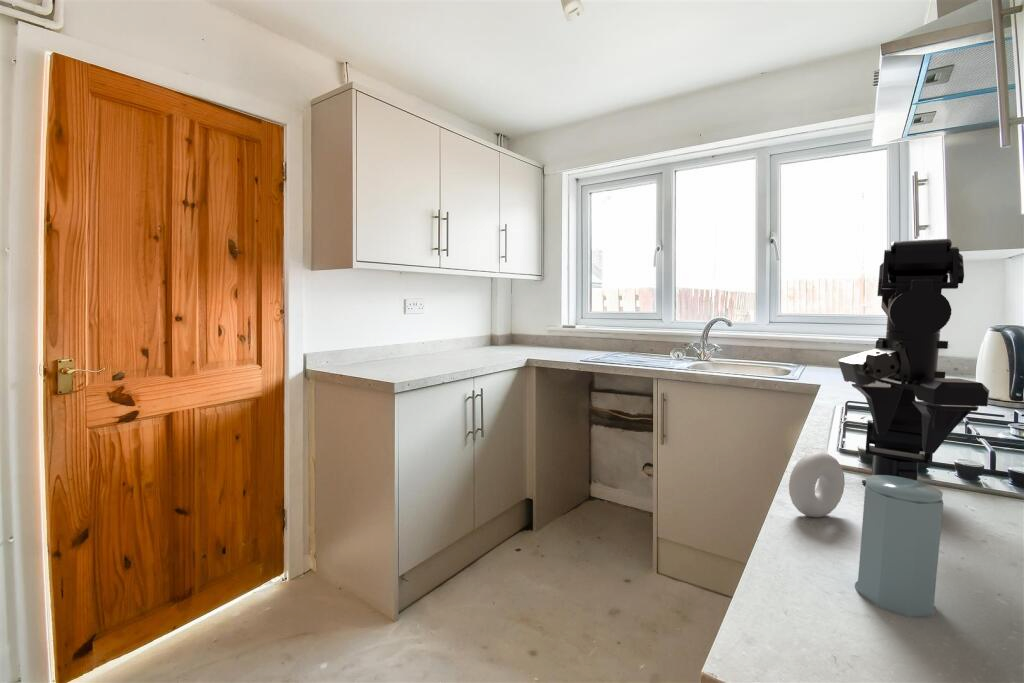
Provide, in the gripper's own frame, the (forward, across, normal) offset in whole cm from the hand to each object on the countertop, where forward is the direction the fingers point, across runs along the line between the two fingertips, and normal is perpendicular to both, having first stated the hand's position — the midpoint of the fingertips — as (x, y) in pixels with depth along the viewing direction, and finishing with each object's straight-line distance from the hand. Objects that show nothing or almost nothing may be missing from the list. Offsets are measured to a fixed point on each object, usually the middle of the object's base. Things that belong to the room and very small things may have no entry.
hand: (903, 442), depth 68 cm
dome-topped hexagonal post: (+13, +17, -12) cm, 24 cm away
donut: (+13, -4, -9) cm, 16 cm away
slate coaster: (+13, +17, -12) cm, 24 cm away
